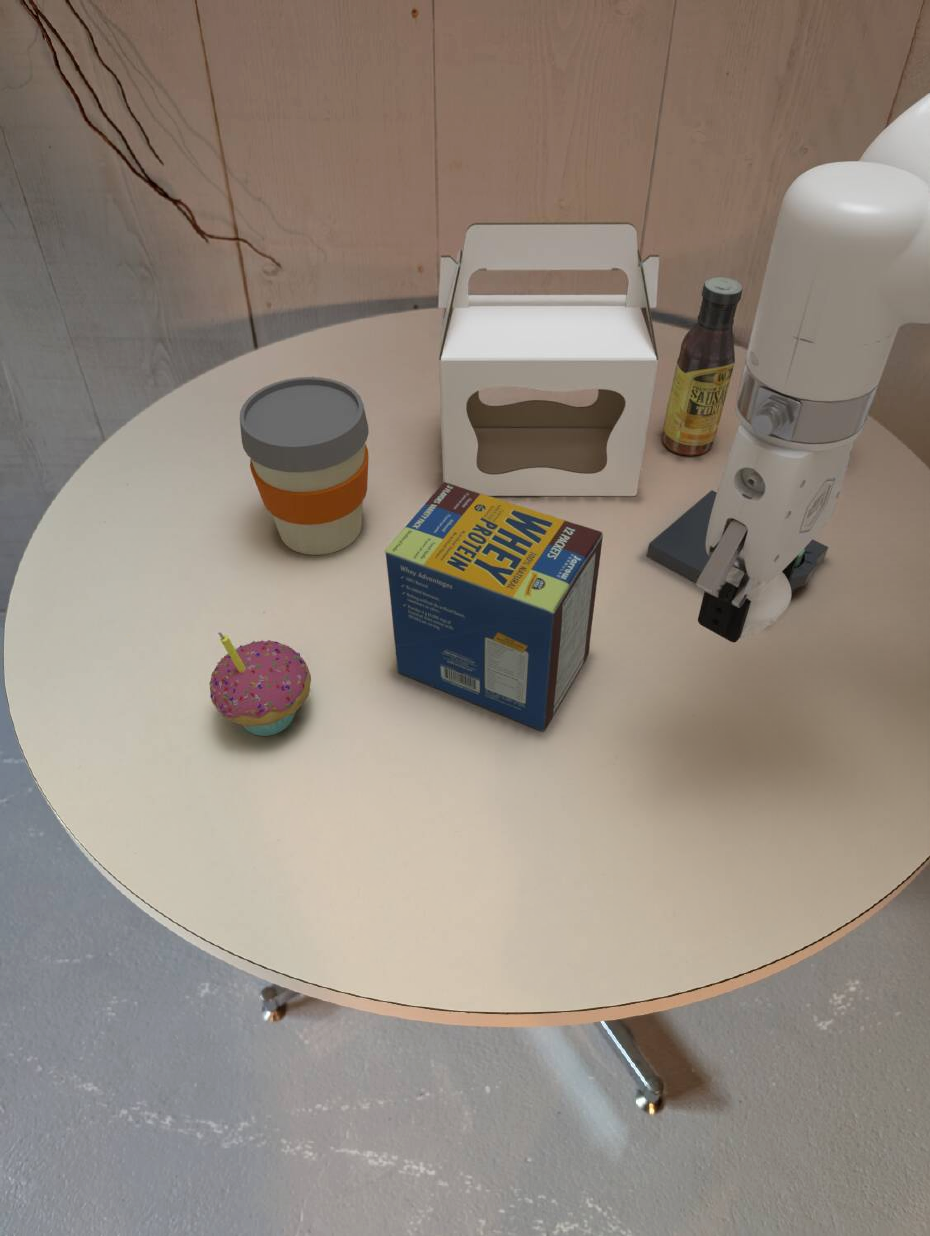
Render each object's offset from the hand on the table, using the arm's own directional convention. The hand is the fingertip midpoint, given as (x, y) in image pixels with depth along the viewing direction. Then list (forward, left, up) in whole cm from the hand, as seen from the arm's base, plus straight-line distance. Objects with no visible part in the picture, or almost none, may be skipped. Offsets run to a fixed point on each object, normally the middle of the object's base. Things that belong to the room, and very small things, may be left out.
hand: (743, 603), depth 67 cm
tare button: (+6, -22, -14) cm, 27 cm away
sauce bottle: (+25, -36, -17) cm, 47 cm away
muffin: (0, 0, -2) cm, 2 cm away
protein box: (+19, +6, -17) cm, 27 cm away
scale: (+10, -22, -17) cm, 30 cm away
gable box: (+36, -21, -17) cm, 45 cm away
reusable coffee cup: (+46, +4, -17) cm, 50 cm away
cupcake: (+30, +24, -17) cm, 42 cm away
